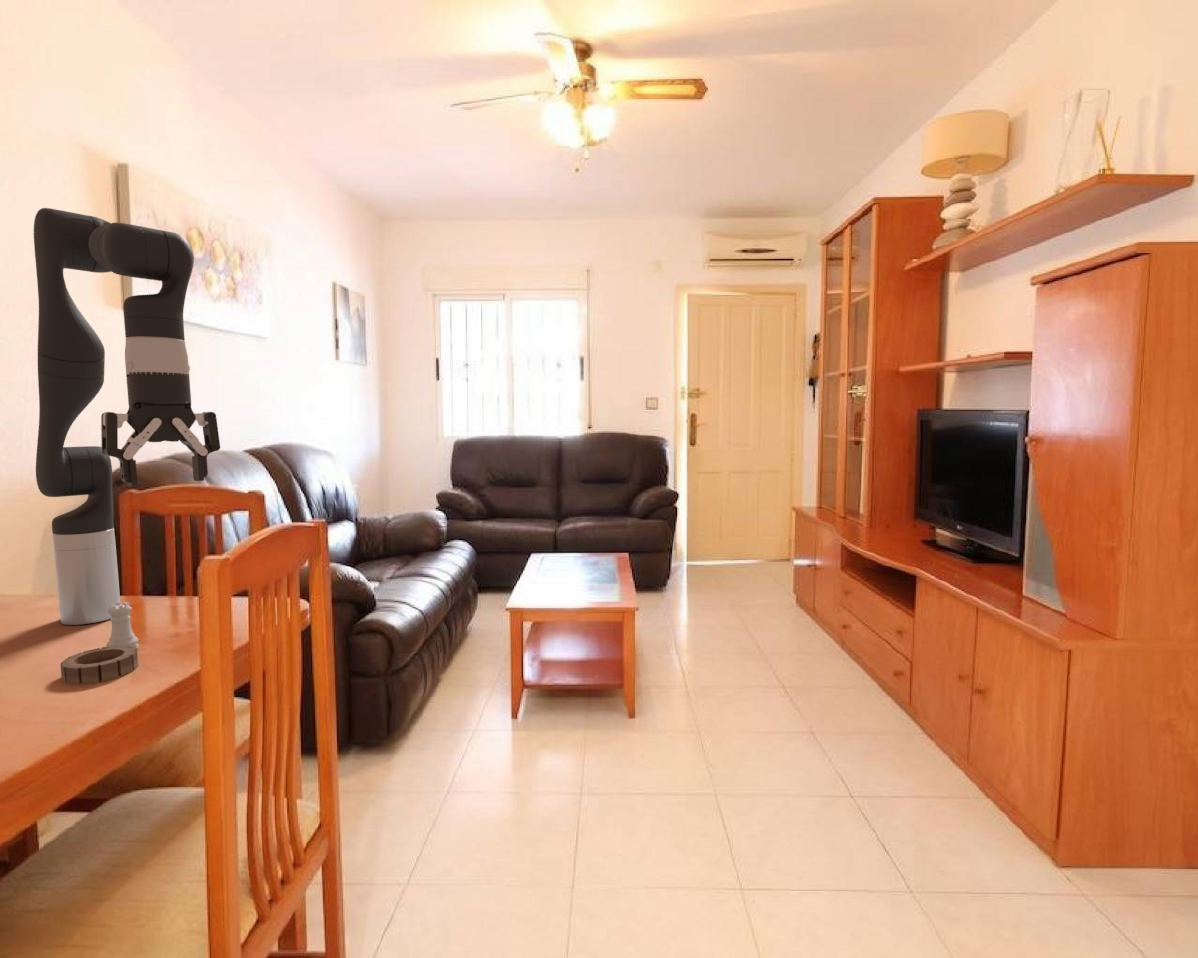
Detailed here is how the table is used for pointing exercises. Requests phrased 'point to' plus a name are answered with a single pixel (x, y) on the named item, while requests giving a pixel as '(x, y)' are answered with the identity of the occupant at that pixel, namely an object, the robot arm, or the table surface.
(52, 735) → the table surface
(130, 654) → the walnut ring bead
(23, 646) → the table surface
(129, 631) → the rook chess piece
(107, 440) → the robot arm
